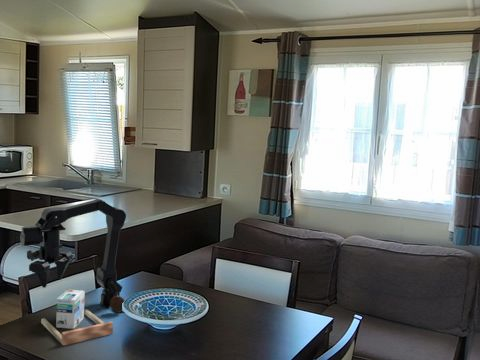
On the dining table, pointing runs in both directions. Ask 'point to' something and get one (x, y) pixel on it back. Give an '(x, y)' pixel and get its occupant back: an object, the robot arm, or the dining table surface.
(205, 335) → the dining table surface
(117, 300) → the dark brown rounded lump
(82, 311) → the light bulb box
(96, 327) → the frame
